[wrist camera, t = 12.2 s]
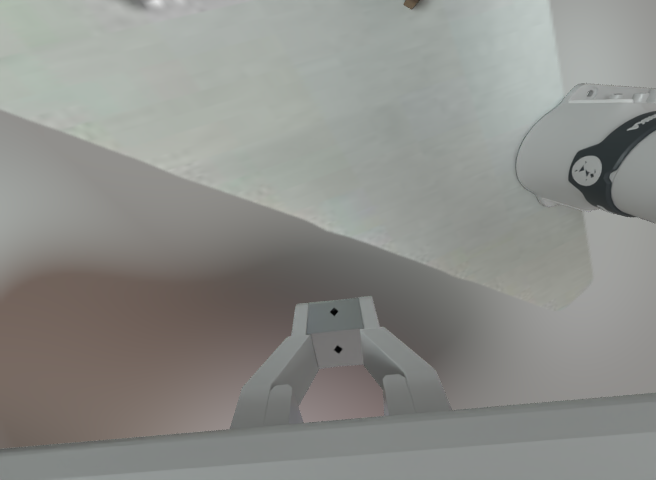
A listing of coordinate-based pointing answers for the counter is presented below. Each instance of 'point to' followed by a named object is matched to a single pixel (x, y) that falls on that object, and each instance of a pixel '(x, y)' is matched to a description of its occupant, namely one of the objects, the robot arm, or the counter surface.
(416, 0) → the walnut holder
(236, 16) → the counter surface
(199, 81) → the counter surface
